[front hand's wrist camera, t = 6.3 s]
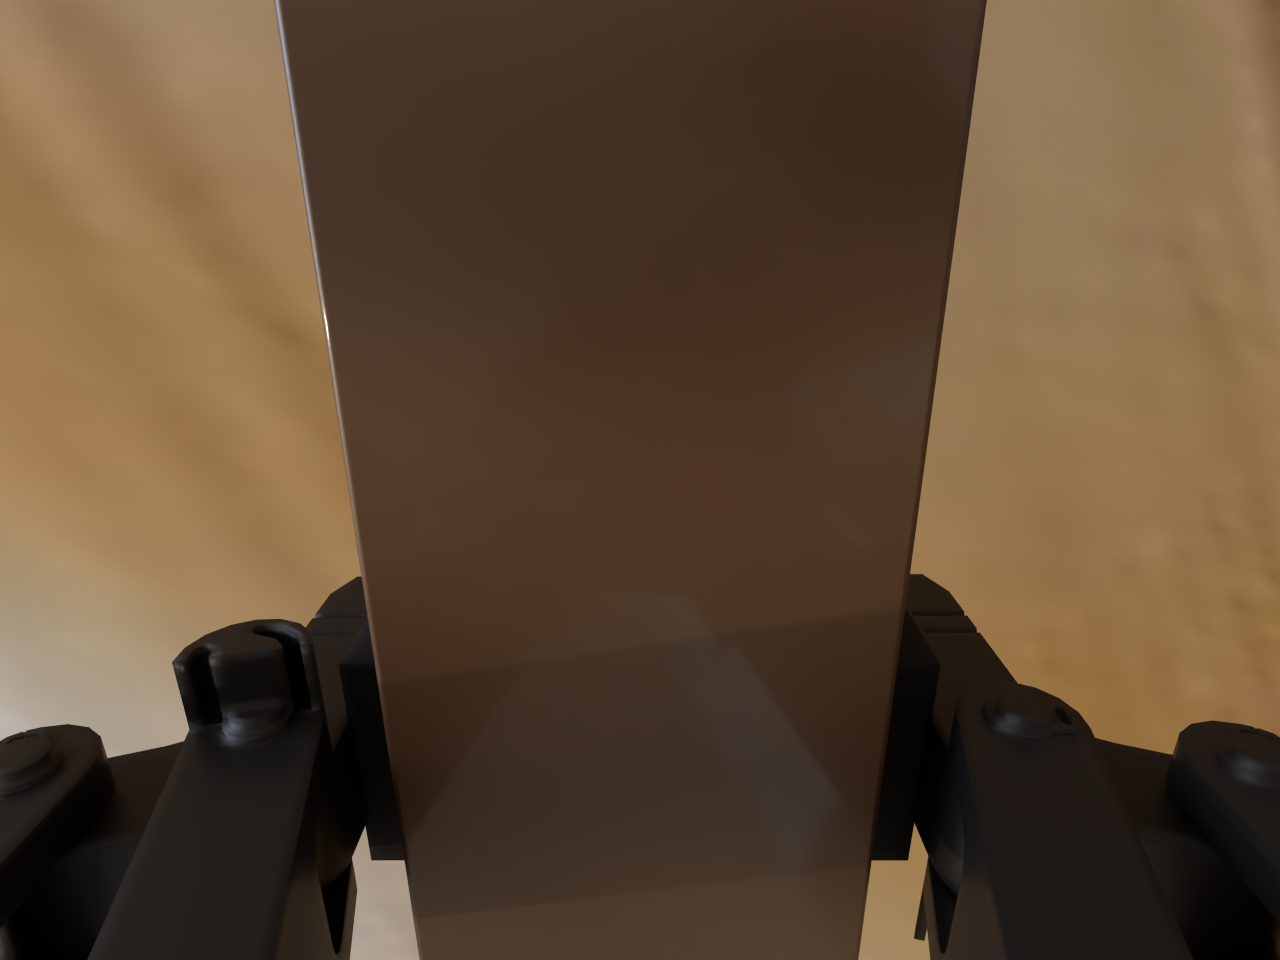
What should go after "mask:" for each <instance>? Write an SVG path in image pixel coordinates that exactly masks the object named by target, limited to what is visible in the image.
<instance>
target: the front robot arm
mask: <svg viewBox="0 0 1280 960" xmlns="http://www.w3.org/2000/svg"><path fill="white" fill-rule="evenodd" d="M172 664H173V668H174V672H175V675H176V679H177V683H178V687H179V691H180V694H181V698H182V702H183V706H184V710H185V714H186V717H187V721H188V725H189V729H190V730H189V732H188V734H187V736H186V739H185V741H183V742H180V743H176V744H172V745H169V746H165V747H160V748H155V749H150V750H145V751H140V752H136V753H131V754H126V755H121V756H116V757H111V758H107V755H106V752H105V749H104V746H103V743H102V740H101V736H99V735H98V734H97V733H95V732H94V731H93V730H92V729H90V728H89V727H83V726H76V725H70V724H66V725H57V726H49V727H40V728H36V729H32V730H27V731H26V732H24V733H23V732H21V733H18V734H15V735H12V736H9V737H7V738H5V739H3V740H2V741H0V960H350V952H351V942H352V933H353V924H354V915H355V906H356V896H357V886H356V879H355V873H354V867H353V862H352V856H353V853H354V851H355V849H356V846H357V844H358V842H359V839H360V837H361V834H362V832H363V830H364V827H365V825H366V831H367V837H368V843H369V849H370V855H371V860H405V859H404V852H403V846H402V839H401V833H400V826H399V820H398V813H397V806H396V800H395V793H394V787H393V780H392V773H391V767H390V760H389V754H388V747H387V740H386V734H385V727H384V721H383V714H382V708H381V701H380V694H379V688H378V681H377V675H376V668H375V661H374V655H373V648H372V642H371V635H370V629H369V622H368V615H367V609H366V602H365V596H364V589H363V582H362V577H356V578H355V579H353V580H351V581H350V582H348V583H347V584H345V585H344V586H342V587H341V588H339V589H338V590H336V591H335V592H333V593H331V594H330V596H329V597H328V598H327V600H326V601H325V602H324V604H323V605H322V606H321V608H320V609H319V610H318V612H317V613H316V617H315V618H312V620H311V621H310V622H309V624H308V625H307V627H306V628H305V627H304V626H303V625H301V624H300V623H296V622H292V621H287V620H283V619H265V620H253V621H248V622H244V623H239V624H234V625H230V626H227V627H225V628H222V629H219V630H217V631H214V632H212V633H209V634H206V635H205V636H203V637H201V638H200V639H198V640H197V641H195V642H193V643H192V644H190V645H189V646H187V647H185V648H184V649H183V651H182V652H181V653H180V654H179V655H178V656H177V657H176V658H175V660H174V661H173V662H172ZM914 823H915V825H916V828H917V830H918V832H919V835H920V837H921V839H922V842H923V844H924V846H925V849H926V851H927V853H928V862H927V867H926V873H925V878H924V884H923V889H922V895H921V900H920V906H919V911H918V917H917V923H916V929H915V936H914V939H918V940H923V941H924V940H925V935H926V929H927V931H928V940H929V950H930V959H931V960H1280V737H1278V736H1277V735H1275V734H1273V733H1270V732H1268V731H1265V730H1262V729H1259V728H1258V729H1255V728H1254V727H1251V726H1247V725H1242V724H1236V723H1228V722H1219V721H1207V722H1200V723H1194V724H1190V725H1189V726H1188V727H1187V728H1185V729H1184V730H1183V731H1182V732H1180V734H1179V737H1178V740H1177V743H1176V746H1175V749H1174V753H1173V755H1170V754H1165V753H1161V752H1156V751H1151V750H1146V749H1141V748H1136V747H1131V746H1127V745H1122V744H1117V743H1112V742H1109V741H1105V740H1101V739H1098V738H1095V737H1094V735H1093V733H1092V730H1091V728H1090V727H1089V726H1088V724H1087V723H1086V722H1085V720H1084V719H1083V718H1082V716H1081V715H1080V714H1079V712H1077V711H1076V710H1075V709H1073V708H1072V707H1070V706H1069V705H1068V704H1066V703H1065V702H1064V701H1062V700H1061V699H1059V698H1057V697H1055V696H1053V695H1051V694H1048V693H1046V692H1044V691H1042V690H1039V689H1037V688H1034V687H1030V686H1026V685H1022V684H1018V683H1017V682H1016V681H1015V679H1014V678H1013V676H1012V675H1011V674H1010V672H1009V671H1008V670H1007V668H1006V667H1005V666H1004V664H1003V663H1002V662H1001V660H1000V659H999V658H998V656H997V655H996V654H995V652H994V651H993V650H992V648H991V647H990V646H989V644H988V643H987V642H986V640H985V639H984V638H983V636H982V635H981V634H980V633H977V628H976V627H975V626H974V624H973V623H972V622H971V620H970V619H969V618H968V616H964V611H963V610H962V608H961V607H960V606H959V604H958V603H957V601H956V600H955V599H954V597H953V596H952V595H951V593H950V592H949V591H947V590H946V589H944V588H943V587H941V586H940V585H938V584H937V583H935V582H934V581H932V580H930V579H929V578H927V577H926V576H924V575H923V574H910V577H909V584H908V592H907V599H906V606H905V614H904V621H903V629H902V636H901V644H900V651H899V659H898V666H897V674H896V681H895V689H894V696H893V704H892V711H891V718H890V726H889V733H888V741H887V748H886V756H885V763H884V771H883V778H882V786H881V793H880V801H879V808H878V816H877V823H876V831H875V838H874V845H873V853H872V860H908V856H909V850H910V844H911V839H912V833H913V827H914Z"/></svg>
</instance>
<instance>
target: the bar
mask: <svg viewBox="0 0 1280 960" xmlns="http://www.w3.org/2000/svg"><path fill="white" fill-rule="evenodd" d="M986 2H987V0H274V3H275V9H276V16H277V22H278V29H279V36H280V42H281V49H282V55H283V62H284V69H285V75H286V82H287V88H288V95H289V102H290V108H291V115H292V121H293V128H294V134H295V141H296V148H297V154H298V161H299V167H300V174H301V181H302V187H303V194H304V200H305V207H306V214H307V220H308V227H309V233H310V240H311V246H312V253H313V260H314V266H315V273H316V279H317V286H318V293H319V299H320V306H321V312H322V319H323V325H324V332H325V339H326V345H327V352H328V358H329V365H330V372H331V378H332V385H333V391H334V398H335V405H336V411H337V418H338V424H339V431H340V437H341V444H342V451H343V457H344V464H345V470H346V477H347V484H348V490H349V497H350V503H351V510H352V517H353V523H354V530H355V536H356V543H357V549H358V556H359V563H360V569H361V576H362V582H363V589H364V596H365V602H366V609H367V615H368V622H369V629H370V635H371V642H372V648H373V655H374V661H375V668H376V675H377V681H378V688H379V694H380V701H381V708H382V714H383V721H384V727H385V734H386V740H387V747H388V754H389V760H390V767H391V773H392V780H393V787H394V793H395V800H396V806H397V813H398V820H399V826H400V833H401V839H402V846H403V852H404V859H405V866H406V872H407V879H408V885H409V892H410V899H411V905H412V912H413V918H414V925H415V932H416V938H417V945H418V951H419V958H420V960H858V957H859V950H860V943H861V935H862V928H863V920H864V913H865V905H866V898H867V890H868V883H869V875H870V868H871V860H872V853H873V845H874V838H875V831H876V823H877V816H878V808H879V801H880V793H881V786H882V778H883V771H884V763H885V756H886V748H887V741H888V733H889V726H890V718H891V711H892V704H893V696H894V689H895V681H896V674H897V666H898V659H899V651H900V644H901V636H902V629H903V621H904V614H905V606H906V599H907V592H908V584H909V577H910V569H911V562H912V554H913V547H914V539H915V532H916V524H917V517H918V509H919V502H920V494H921V487H922V480H923V472H924V465H925V457H926V450H927V442H928V435H929V427H930V420H931V412H932V405H933V397H934V390H935V382H936V375H937V368H938V360H939V353H940V345H941V338H942V330H943V323H944V315H945V308H946V300H947V293H948V285H949V278H950V270H951V263H952V256H953V248H954V241H955V233H956V226H957V218H958V211H959V203H960V196H961V188H962V181H963V173H964V166H965V158H966V151H967V143H968V136H969V129H970V121H971V114H972V106H973V99H974V91H975V84H976V76H977V69H978V61H979V54H980V46H981V39H982V31H983V24H984V17H985V9H986Z"/></svg>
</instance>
